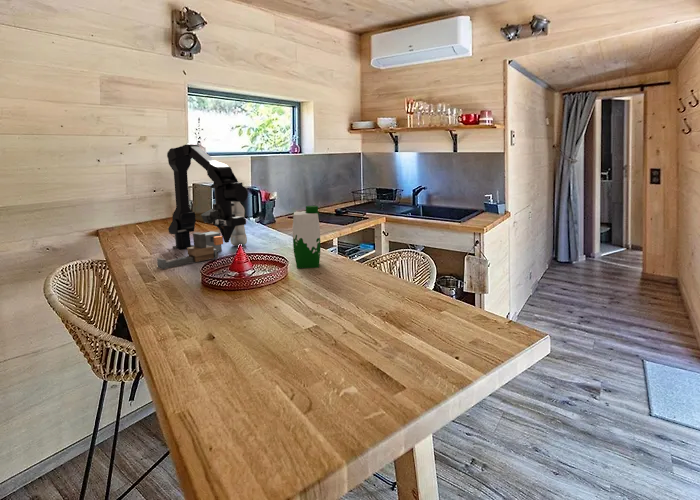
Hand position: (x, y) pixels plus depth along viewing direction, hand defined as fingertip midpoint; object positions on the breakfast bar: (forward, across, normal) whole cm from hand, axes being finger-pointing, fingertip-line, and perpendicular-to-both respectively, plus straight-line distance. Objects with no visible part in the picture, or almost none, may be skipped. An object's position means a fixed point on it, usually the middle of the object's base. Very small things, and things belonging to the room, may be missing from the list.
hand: (226, 242), depth 174 cm
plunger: (+1, -8, 0) cm, 9 cm away
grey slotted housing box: (+5, -12, 0) cm, 13 cm away
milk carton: (+5, +36, +8) cm, 37 cm away
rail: (+5, -2, -15) cm, 16 cm away
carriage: (+5, -2, -10) cm, 11 cm away
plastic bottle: (+5, -12, +13) cm, 18 cm away
